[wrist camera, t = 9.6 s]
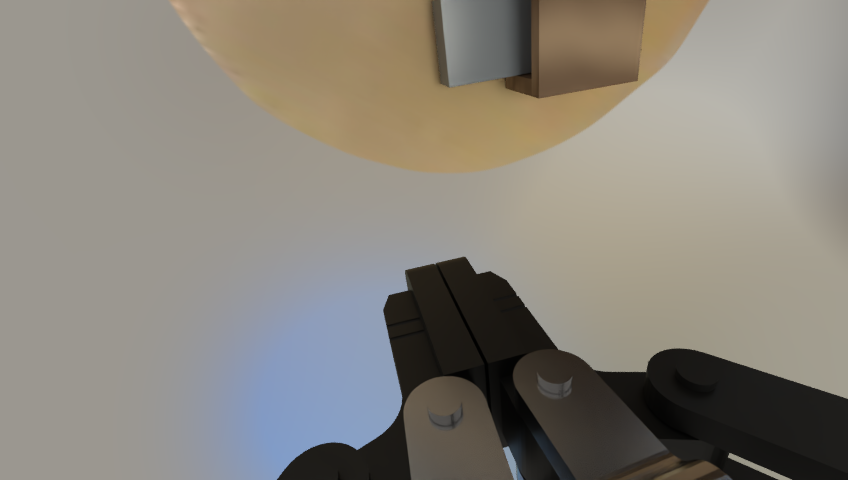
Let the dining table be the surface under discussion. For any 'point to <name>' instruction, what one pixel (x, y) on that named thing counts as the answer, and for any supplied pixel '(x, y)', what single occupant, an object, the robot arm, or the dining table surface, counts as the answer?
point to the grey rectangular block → (482, 39)
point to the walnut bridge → (581, 46)
